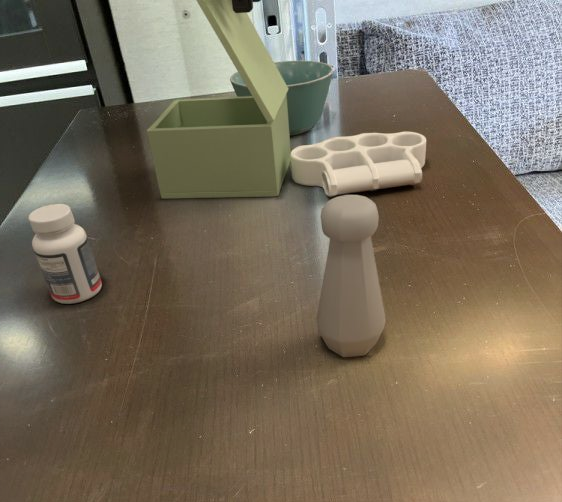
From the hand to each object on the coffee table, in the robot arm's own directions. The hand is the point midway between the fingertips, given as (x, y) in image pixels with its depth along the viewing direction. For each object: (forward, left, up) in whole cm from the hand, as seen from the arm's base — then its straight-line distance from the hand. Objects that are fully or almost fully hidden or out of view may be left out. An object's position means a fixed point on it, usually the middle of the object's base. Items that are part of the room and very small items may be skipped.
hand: (248, 6), depth 72 cm
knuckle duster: (+13, 0, -20) cm, 24 cm away
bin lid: (-1, 0, -4) cm, 4 cm away
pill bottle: (-15, -29, -20) cm, 39 cm away
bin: (-5, 0, -20) cm, 21 cm away
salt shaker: (+14, -37, -20) cm, 44 cm away
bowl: (0, +20, -20) cm, 29 cm away
